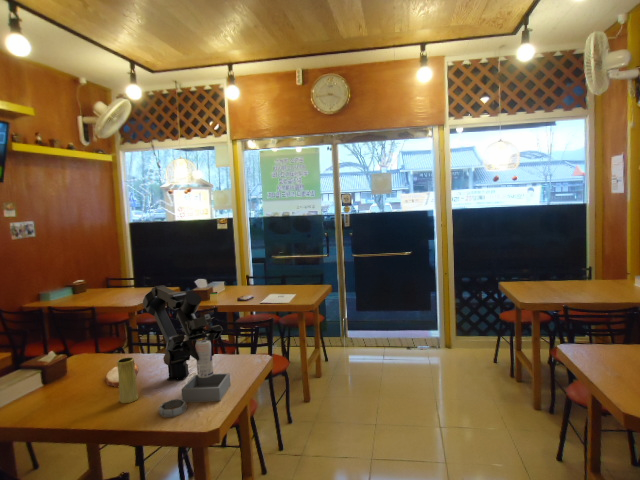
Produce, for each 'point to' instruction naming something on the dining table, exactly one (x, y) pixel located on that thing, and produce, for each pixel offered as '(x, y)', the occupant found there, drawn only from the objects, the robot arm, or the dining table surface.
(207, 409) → the dining table surface
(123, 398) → the vase
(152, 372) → the dining table surface
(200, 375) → the energy drink
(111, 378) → the bread slice
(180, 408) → the metal collar
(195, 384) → the bin
